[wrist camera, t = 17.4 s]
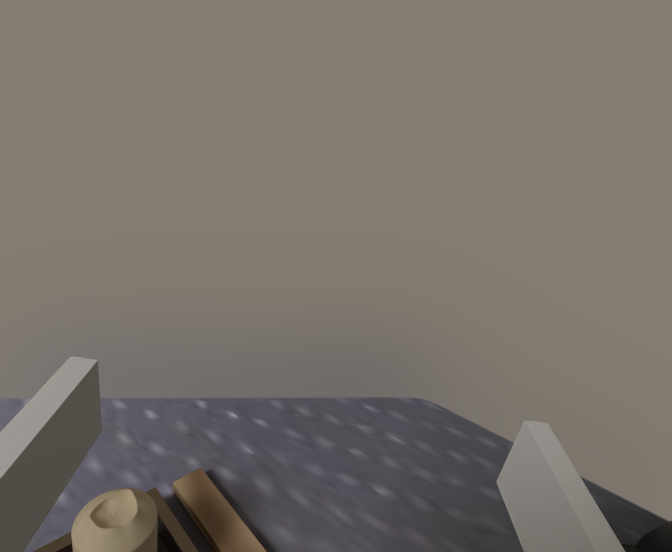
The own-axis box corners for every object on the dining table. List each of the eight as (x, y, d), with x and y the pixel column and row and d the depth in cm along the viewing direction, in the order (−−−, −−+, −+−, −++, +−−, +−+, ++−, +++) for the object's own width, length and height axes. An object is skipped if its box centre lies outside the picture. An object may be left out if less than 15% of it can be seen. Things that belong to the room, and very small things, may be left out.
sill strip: (200, 475, 46) (200, 467, 45) (270, 568, 39) (272, 559, 38) (172, 491, 44) (173, 482, 43) (242, 591, 37) (243, 582, 36)
